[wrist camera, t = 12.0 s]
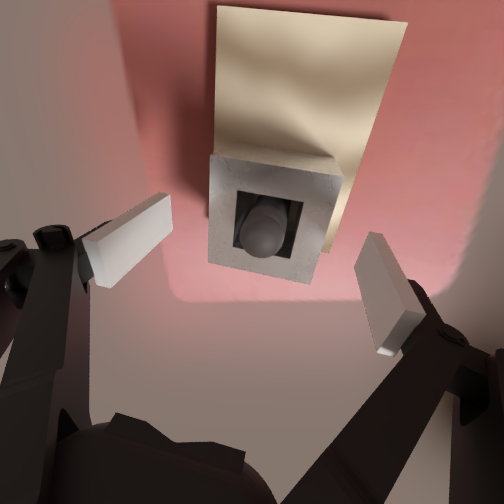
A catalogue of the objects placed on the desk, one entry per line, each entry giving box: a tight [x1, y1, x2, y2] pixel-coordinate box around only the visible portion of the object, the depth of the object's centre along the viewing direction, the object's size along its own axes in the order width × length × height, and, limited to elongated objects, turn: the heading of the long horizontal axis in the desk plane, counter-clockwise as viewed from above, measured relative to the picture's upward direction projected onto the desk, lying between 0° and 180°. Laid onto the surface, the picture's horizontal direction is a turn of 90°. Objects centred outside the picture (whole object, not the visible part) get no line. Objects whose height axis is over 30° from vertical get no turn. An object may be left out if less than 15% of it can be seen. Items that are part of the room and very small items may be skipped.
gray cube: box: [208, 142, 344, 285], centre depth 20 cm, size 9×9×7 cm
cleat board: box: [214, 5, 408, 258], centre depth 17 cm, size 18×13×12 cm
